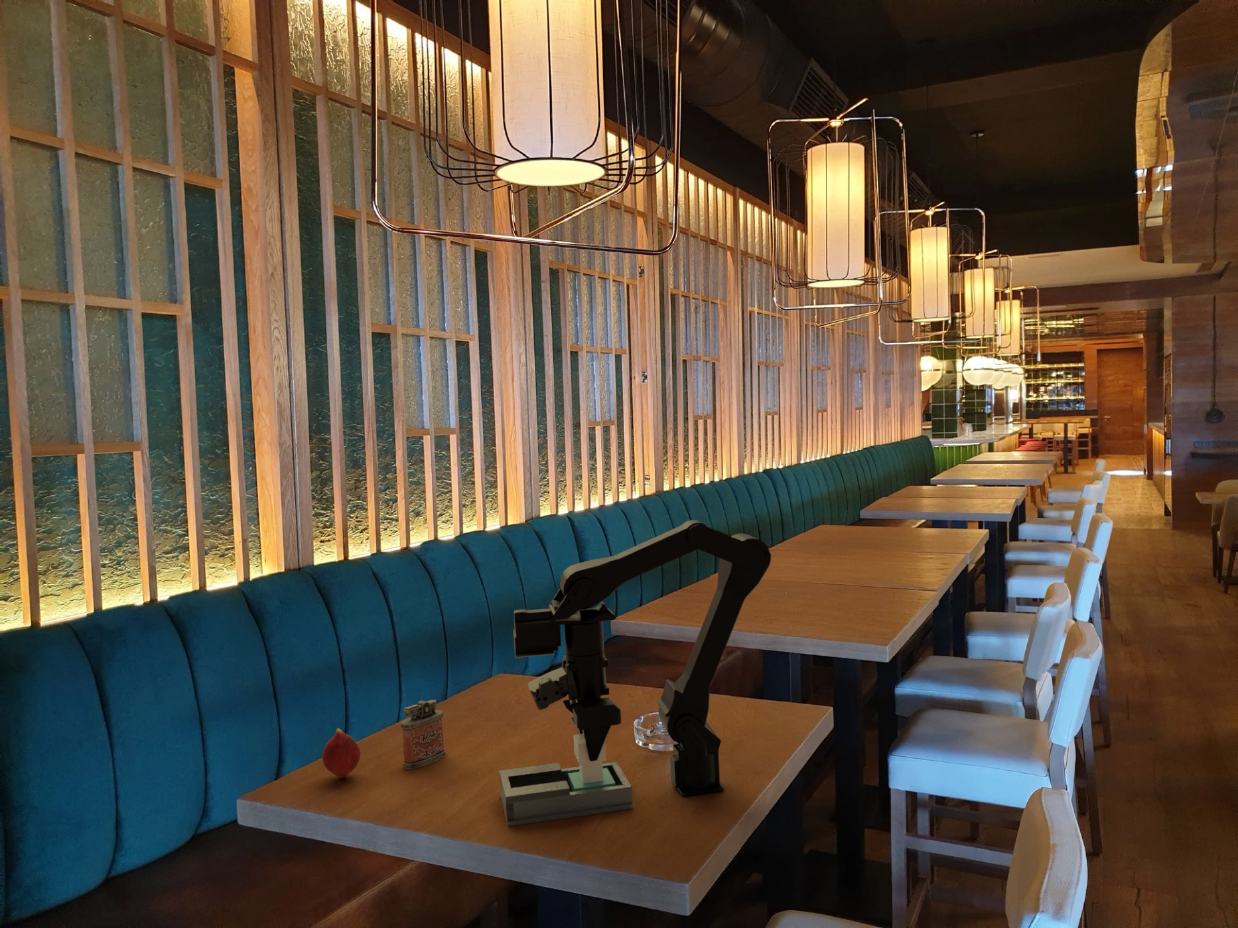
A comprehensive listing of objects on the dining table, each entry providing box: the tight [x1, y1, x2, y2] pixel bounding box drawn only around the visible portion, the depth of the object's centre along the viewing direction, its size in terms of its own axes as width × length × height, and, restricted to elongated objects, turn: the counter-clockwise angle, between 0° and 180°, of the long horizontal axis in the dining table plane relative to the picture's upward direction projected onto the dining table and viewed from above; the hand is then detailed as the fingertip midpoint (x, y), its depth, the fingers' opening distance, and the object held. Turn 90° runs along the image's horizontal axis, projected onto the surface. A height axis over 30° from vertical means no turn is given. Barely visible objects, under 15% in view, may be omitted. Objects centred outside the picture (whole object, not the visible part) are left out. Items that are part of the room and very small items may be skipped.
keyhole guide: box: [499, 761, 634, 827], centre depth 136 cm, size 18×11×4 cm, turn 102°
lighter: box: [400, 699, 446, 770], centre depth 155 cm, size 8×3×10 cm, turn 141°
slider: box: [568, 733, 616, 792], centre depth 137 cm, size 6×6×7 cm
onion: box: [321, 728, 361, 779], centre depth 149 cm, size 6×6×8 cm
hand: (590, 755), depth 137 cm, fingers closed on slider, 4 cm apart
